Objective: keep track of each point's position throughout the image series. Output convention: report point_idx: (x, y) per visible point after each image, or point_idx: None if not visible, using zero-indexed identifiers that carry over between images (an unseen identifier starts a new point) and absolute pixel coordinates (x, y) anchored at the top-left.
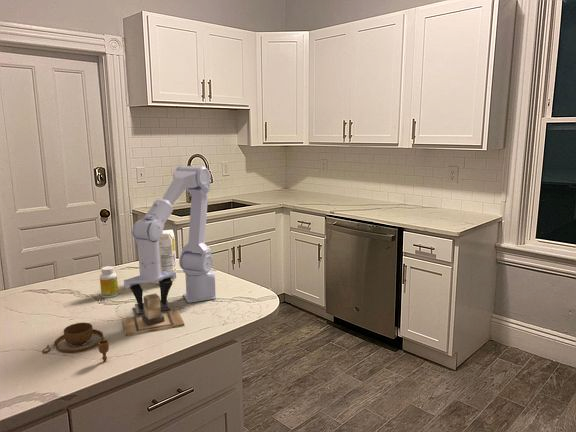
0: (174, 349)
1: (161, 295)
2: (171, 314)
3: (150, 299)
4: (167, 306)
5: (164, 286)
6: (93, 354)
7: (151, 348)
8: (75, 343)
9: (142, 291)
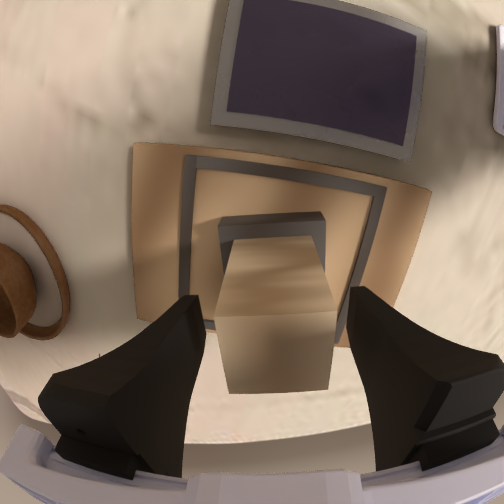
0: (270, 435)
1: (367, 328)
2: (382, 233)
3: (252, 390)
4: (402, 139)
5: (378, 459)
6: (68, 359)
7: (215, 413)
8: (12, 312)
9: (179, 471)
